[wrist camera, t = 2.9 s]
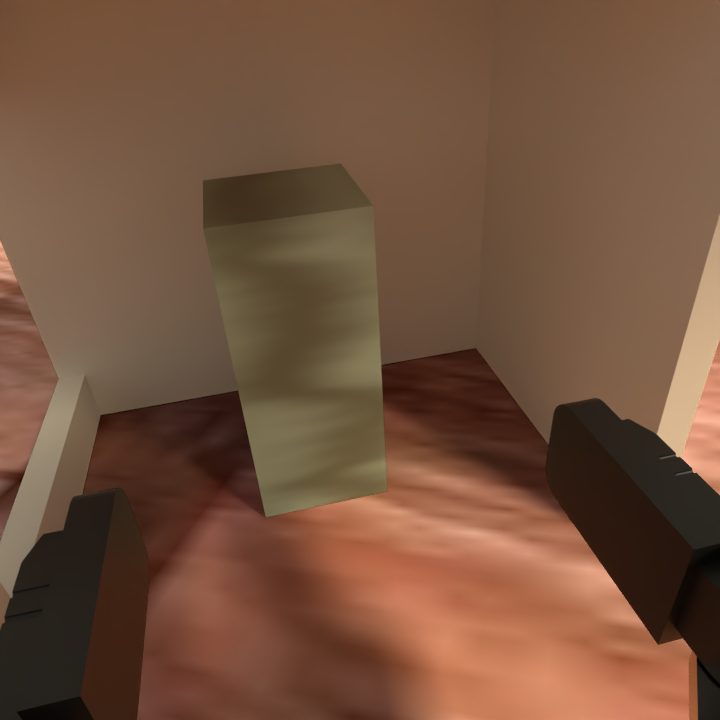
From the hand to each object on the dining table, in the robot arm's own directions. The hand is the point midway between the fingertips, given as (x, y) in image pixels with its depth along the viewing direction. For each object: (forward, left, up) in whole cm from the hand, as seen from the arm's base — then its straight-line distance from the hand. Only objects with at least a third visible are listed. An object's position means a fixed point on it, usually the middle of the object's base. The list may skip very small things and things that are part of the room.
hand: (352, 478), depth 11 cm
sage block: (0, -11, -10) cm, 15 cm away
